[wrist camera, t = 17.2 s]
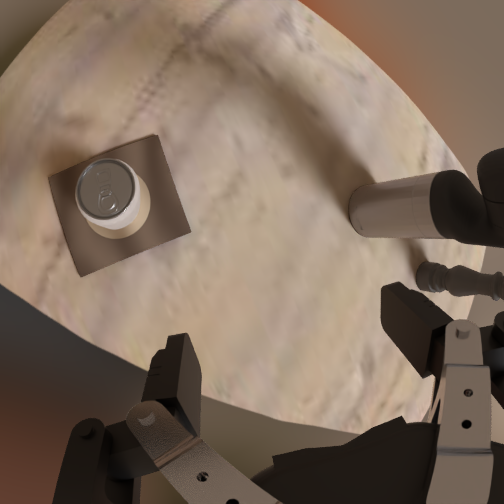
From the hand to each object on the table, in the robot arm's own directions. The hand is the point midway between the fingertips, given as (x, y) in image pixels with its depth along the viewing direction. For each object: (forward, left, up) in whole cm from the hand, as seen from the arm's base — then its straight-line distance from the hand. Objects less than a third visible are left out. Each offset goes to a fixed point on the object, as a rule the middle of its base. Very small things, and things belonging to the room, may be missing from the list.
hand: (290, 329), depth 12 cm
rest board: (+6, -11, -30) cm, 33 cm away
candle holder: (-44, +21, -31) cm, 58 cm away
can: (+6, -11, -29) cm, 32 cm away
